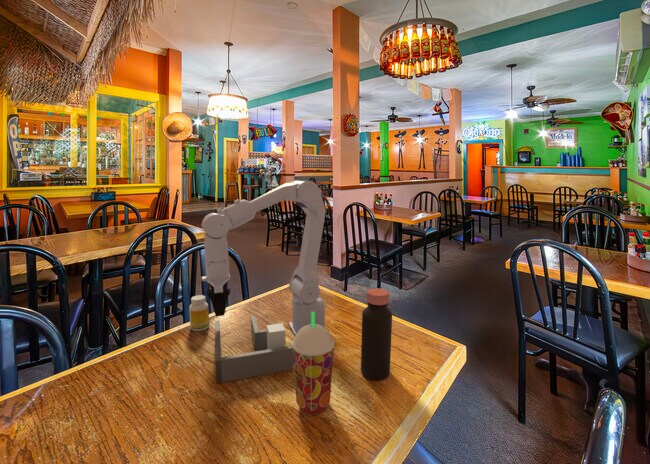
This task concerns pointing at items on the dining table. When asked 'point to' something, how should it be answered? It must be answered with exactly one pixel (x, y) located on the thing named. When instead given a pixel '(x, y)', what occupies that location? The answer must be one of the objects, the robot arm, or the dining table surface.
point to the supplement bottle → (199, 313)
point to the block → (276, 336)
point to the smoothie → (313, 367)
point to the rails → (251, 358)
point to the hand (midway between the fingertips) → (219, 309)
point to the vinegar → (376, 335)
